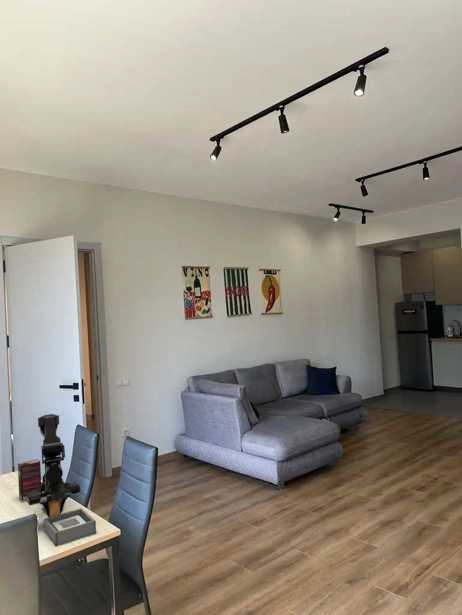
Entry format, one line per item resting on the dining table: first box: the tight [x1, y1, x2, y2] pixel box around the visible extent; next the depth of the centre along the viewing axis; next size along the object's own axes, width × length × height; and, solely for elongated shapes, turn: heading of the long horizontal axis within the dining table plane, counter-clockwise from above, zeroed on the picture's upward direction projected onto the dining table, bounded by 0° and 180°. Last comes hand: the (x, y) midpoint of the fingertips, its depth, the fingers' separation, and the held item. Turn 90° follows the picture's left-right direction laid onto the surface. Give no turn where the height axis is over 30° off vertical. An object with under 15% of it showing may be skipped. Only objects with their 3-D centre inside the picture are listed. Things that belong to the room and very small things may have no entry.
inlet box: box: [43, 507, 97, 547], centre depth 163 cm, size 15×14×4 cm
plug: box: [48, 500, 60, 517], centre depth 171 cm, size 4×4×8 cm
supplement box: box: [17, 459, 42, 503], centre depth 198 cm, size 9×5×16 cm, turn 128°
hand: (54, 515), depth 171 cm, fingers closed on plug, 4 cm apart
